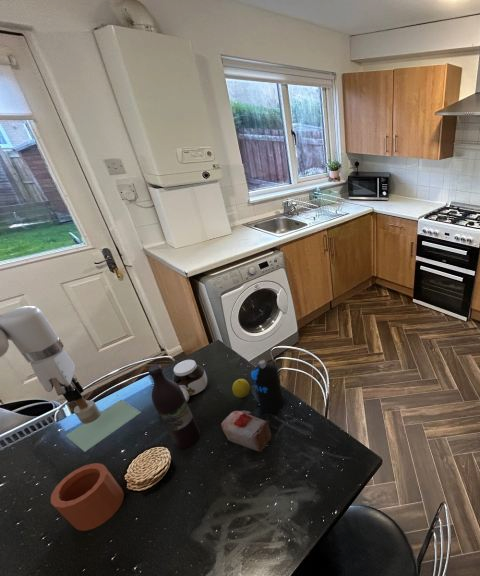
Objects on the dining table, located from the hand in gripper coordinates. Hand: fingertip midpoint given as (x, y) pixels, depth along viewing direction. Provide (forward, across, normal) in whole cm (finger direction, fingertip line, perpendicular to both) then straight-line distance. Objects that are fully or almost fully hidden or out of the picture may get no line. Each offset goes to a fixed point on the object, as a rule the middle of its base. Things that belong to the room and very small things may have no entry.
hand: (76, 396), depth 93 cm
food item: (+16, +30, +40) cm, 52 cm away
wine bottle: (+16, +20, +24) cm, 35 cm away
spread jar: (+16, 0, +26) cm, 30 cm away
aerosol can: (+16, +21, +50) cm, 56 cm away
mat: (+15, -1, +2) cm, 15 cm away
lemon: (+16, +11, +42) cm, 46 cm away
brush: (+10, 0, 0) cm, 10 cm away
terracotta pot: (+15, +30, +3) cm, 33 cm away
